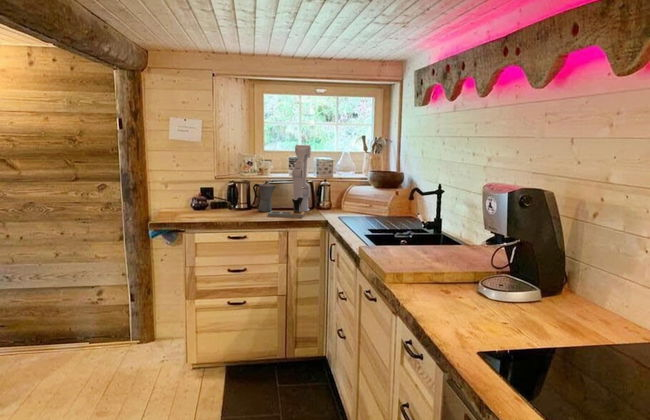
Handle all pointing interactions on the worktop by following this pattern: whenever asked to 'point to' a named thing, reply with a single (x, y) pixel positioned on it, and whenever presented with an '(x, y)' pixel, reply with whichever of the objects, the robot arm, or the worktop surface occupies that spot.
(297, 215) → the grey rectangular frame
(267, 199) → the moka pot
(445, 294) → the worktop surface
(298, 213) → the block
